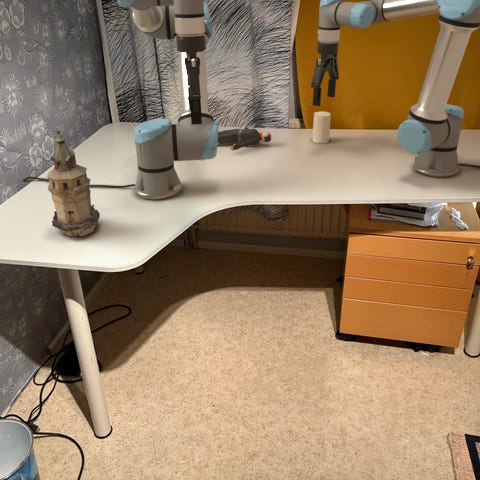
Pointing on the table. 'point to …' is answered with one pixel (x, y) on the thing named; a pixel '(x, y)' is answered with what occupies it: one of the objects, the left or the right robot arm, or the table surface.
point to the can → (321, 127)
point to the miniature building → (70, 193)
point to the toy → (242, 137)
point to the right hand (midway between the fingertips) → (323, 101)
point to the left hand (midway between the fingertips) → (195, 116)
